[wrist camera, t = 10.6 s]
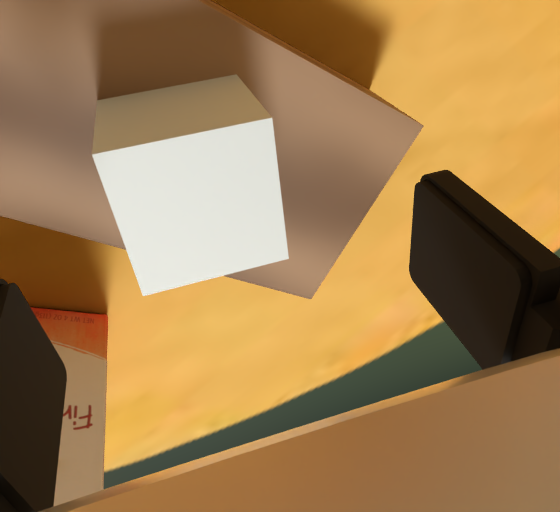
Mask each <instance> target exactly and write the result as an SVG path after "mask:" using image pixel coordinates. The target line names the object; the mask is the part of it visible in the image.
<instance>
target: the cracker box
mask: <svg viewBox="0 0 560 512" xmlns="http://www.w3.org/2000/svg"><path fill="white" fill-rule="evenodd" d="M30 308H31V309H32V311H33V313H34V314H35V316H36V318H37V319H38V321H39V323H40V324H41V326H42V328H43V329H44V331H45V333H46V334H47V336H48V338H49V339H50V341H51V343H52V344H53V346H54V348H55V349H56V351H57V353H58V354H59V356H60V358H61V359H62V361H63V363H64V365H65V368H66V372H67V383H66V393H65V402H64V411H63V421H62V430H61V440H60V449H59V459H58V468H57V477H56V487H55V496H54V506H57V505H60V504H63V503H65V502H68V501H71V500H74V499H77V498H80V497H83V496H86V495H89V494H92V493H95V492H98V491H101V490H103V475H104V446H105V418H106V385H107V338H108V316H107V315H106V314H90V313H81V312H72V311H62V310H53V309H43V308H33V307H30ZM54 506H53V507H54Z"/></svg>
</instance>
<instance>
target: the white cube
mask: <svg viewBox="0 0 560 512" xmlns="http://www.w3.org/2000/svg"><path fill="white" fill-rule="evenodd" d="M92 156H93V159H94V162H95V165H96V168H97V170H98V173H99V176H100V179H101V181H102V184H103V187H104V190H105V192H106V195H107V198H108V201H109V203H110V206H111V209H112V212H113V214H114V217H115V220H116V223H117V225H118V228H119V231H120V234H121V236H122V239H123V242H124V245H125V247H126V250H127V253H128V256H129V259H130V261H131V264H132V267H133V270H134V272H135V275H136V278H137V281H138V283H139V286H140V289H141V292H142V294H143V296H146V295H150V294H153V293H157V292H161V291H165V290H169V289H173V288H177V287H181V286H185V285H188V284H192V283H196V282H200V281H204V280H208V279H212V278H216V277H220V276H224V275H227V274H231V273H235V272H239V271H243V270H247V269H251V268H255V267H259V266H262V265H266V264H270V263H274V262H278V261H282V260H286V259H289V256H288V248H287V239H286V231H285V222H284V214H283V205H282V197H281V188H280V180H279V171H278V163H277V154H276V146H275V137H274V129H273V120H272V117H271V116H270V114H269V113H268V112H267V111H266V109H265V108H264V107H263V106H262V105H261V103H260V102H259V101H258V100H257V98H256V97H255V96H254V95H253V94H252V92H251V91H250V90H249V89H248V88H247V86H246V85H245V84H244V83H243V81H242V80H241V79H240V78H239V77H238V75H237V74H235V75H230V76H225V77H219V78H214V79H209V80H203V81H198V82H193V83H187V84H182V85H177V86H171V87H166V88H161V89H155V90H150V91H145V92H139V93H134V94H129V95H123V96H118V97H112V98H107V99H102V100H97V108H96V118H95V128H94V138H93V148H92Z"/></svg>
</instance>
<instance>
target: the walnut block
mask: <svg viewBox="0 0 560 512" xmlns="http://www.w3.org/2000/svg"><path fill="white" fill-rule="evenodd" d="M235 74H237V75H238V77H239V78H240V79H241V80H242V81H243V83H244V84H245V85H246V86H247V88H248V89H249V90H250V91H251V92H252V94H253V95H254V96H255V97H256V98H257V100H258V101H259V102H260V103H261V105H262V106H263V107H264V108H265V109H266V111H267V112H268V113H269V114H270V116H271V117H272V120H273V129H274V137H275V146H276V154H277V163H278V171H279V180H280V188H281V197H282V205H283V214H284V222H285V231H286V239H287V248H288V256H289V259H286V260H282V261H278V262H274V263H270V264H266V265H262V266H259V267H255V268H251V269H247V270H243V271H239V272H235V273H231V274H227V275H224V276H226V277H230V278H233V279H237V280H241V281H245V282H248V283H252V284H256V285H259V286H263V287H267V288H271V289H274V290H278V291H282V292H286V293H289V294H293V295H297V296H300V297H304V298H308V299H311V298H312V297H313V295H314V294H315V292H316V291H317V289H318V288H319V286H320V285H321V283H322V282H323V280H324V278H325V277H326V275H327V274H328V272H329V271H330V269H331V268H332V266H333V265H334V263H335V262H336V260H337V258H338V257H339V255H340V254H341V252H342V251H343V249H344V248H345V246H346V245H347V243H348V242H349V240H350V238H351V237H352V235H353V234H354V232H355V231H356V229H357V228H358V226H359V225H360V223H361V222H362V220H363V218H364V217H365V215H366V214H367V212H368V211H369V209H370V208H371V206H372V205H373V203H374V202H375V200H376V198H377V197H378V195H379V194H380V192H381V191H382V189H383V188H384V186H385V185H386V183H387V182H388V180H389V178H390V177H391V175H392V174H393V172H394V171H395V169H396V168H397V166H398V165H399V163H400V162H401V160H402V158H403V157H404V155H405V154H406V152H407V151H408V149H409V148H410V146H411V145H412V143H413V142H414V140H415V138H416V137H417V135H418V134H419V132H420V131H421V129H422V128H423V125H422V124H420V123H419V122H417V121H416V120H414V119H413V118H411V117H410V116H408V115H407V114H405V113H404V112H402V111H401V110H399V109H398V108H396V107H395V106H393V105H391V104H390V103H388V102H387V101H385V100H384V99H382V98H381V97H379V96H378V95H376V94H375V93H373V92H372V91H370V90H369V89H367V88H365V87H363V86H362V85H360V84H358V83H356V82H355V81H353V80H351V79H349V78H347V77H346V76H344V75H342V74H340V73H339V72H337V71H335V70H333V69H332V68H330V67H328V66H326V65H324V64H323V63H321V62H319V61H317V60H316V59H314V58H312V57H310V56H308V55H307V54H305V53H303V52H301V51H300V50H298V49H296V48H294V47H293V46H291V45H289V44H287V43H285V42H284V41H282V40H280V39H278V38H277V37H275V36H273V35H271V34H270V33H268V32H266V31H264V30H262V29H261V28H259V27H257V26H255V25H254V24H252V23H250V22H248V21H247V20H245V19H243V18H241V17H239V16H238V15H236V14H234V13H232V12H231V11H229V10H227V9H225V8H223V7H222V6H220V5H218V4H216V3H215V2H213V1H211V0H0V216H3V217H6V218H10V219H14V220H18V221H21V222H25V223H29V224H32V225H36V226H40V227H44V228H47V229H51V230H55V231H59V232H62V233H66V234H70V235H73V236H77V237H81V238H85V239H88V240H92V241H96V242H99V243H103V244H107V245H111V246H114V247H118V248H122V249H125V250H126V247H125V245H124V242H123V239H122V236H121V234H120V231H119V228H118V225H117V223H116V220H115V217H114V214H113V212H112V209H111V206H110V203H109V201H108V198H107V195H106V192H105V190H104V187H103V184H102V181H101V179H100V176H99V173H98V170H97V168H96V165H95V162H94V159H93V156H92V148H93V138H94V128H95V118H96V108H97V100H102V99H107V98H112V97H118V96H123V95H129V94H134V93H139V92H145V91H150V90H155V89H161V88H166V87H171V86H177V85H182V84H187V83H193V82H198V81H203V80H209V79H214V78H219V77H225V76H230V75H235Z"/></svg>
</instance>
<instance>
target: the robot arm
mask: <svg viewBox="0 0 560 512" xmlns="http://www.w3.org/2000/svg"><path fill="white" fill-rule="evenodd" d="M409 271H410V275H411V278H412V280H413V282H414V283H415V284H416V286H417V287H418V288H419V289H420V291H421V292H422V293H423V295H424V296H425V297H426V298H427V300H428V301H429V302H430V303H431V305H432V306H433V307H434V308H435V310H436V311H437V312H438V313H439V315H440V316H441V317H442V319H443V320H444V321H445V322H446V323H447V325H448V326H449V327H450V329H451V330H452V331H453V332H454V334H455V335H456V336H457V337H458V339H459V340H460V341H461V343H462V344H463V345H464V346H465V348H466V349H467V350H468V351H469V353H470V354H471V355H472V356H473V358H474V359H475V360H476V361H477V363H478V364H479V365H480V366H481V368H482V369H483V370H481V371H477V372H474V373H471V374H467V375H464V376H461V377H458V378H455V379H452V380H448V381H445V382H442V383H438V384H435V385H432V386H429V387H425V388H422V389H419V390H416V391H413V392H409V393H406V394H403V395H400V396H396V397H393V398H390V399H387V400H383V401H380V402H377V403H374V404H371V405H367V406H364V407H361V408H358V409H355V410H351V411H348V412H345V413H342V414H339V415H336V416H333V417H329V418H326V419H323V420H320V421H317V422H313V423H310V424H307V425H304V426H301V427H297V428H294V429H292V430H288V431H285V432H282V433H279V434H276V435H272V436H269V437H266V438H263V439H260V440H256V441H254V442H250V443H247V444H244V445H241V446H237V447H234V448H231V449H228V450H225V451H222V452H219V453H216V454H213V455H210V456H206V457H203V458H200V459H197V460H194V461H191V462H188V463H185V464H181V465H178V466H175V467H172V468H169V469H166V470H163V471H160V472H157V473H153V474H150V475H147V476H144V477H141V478H138V479H135V480H132V481H128V482H126V483H122V484H119V485H116V486H113V487H110V488H107V489H104V490H101V491H98V492H95V493H92V494H89V495H86V496H83V497H80V498H77V499H74V500H71V501H68V502H65V503H63V504H60V505H57V506H54V496H55V487H56V477H57V468H58V459H59V449H60V440H61V430H62V421H63V411H64V402H65V393H66V383H67V372H66V368H65V365H64V363H63V361H62V359H61V358H60V356H59V354H58V353H57V351H56V349H55V348H54V346H53V344H52V343H51V341H50V339H49V338H48V336H47V334H46V333H45V331H44V329H43V328H42V326H41V324H40V323H39V321H38V319H37V318H36V316H35V314H34V313H33V311H32V309H31V308H30V306H29V304H28V302H27V301H26V299H25V297H24V296H23V294H22V292H21V291H20V289H19V287H18V286H17V285H16V284H15V283H9V284H8V283H7V282H6V281H5V280H3V279H0V512H560V258H559V257H557V256H556V255H555V254H554V253H553V252H551V251H550V250H549V249H547V248H546V247H545V246H544V245H542V244H541V243H540V242H539V241H537V240H536V239H535V238H534V237H532V236H531V235H530V234H529V233H527V232H526V231H525V230H523V229H522V228H521V227H520V226H518V225H517V224H516V223H515V222H513V221H512V220H511V219H510V218H508V217H507V216H506V215H505V214H503V213H502V212H501V211H499V210H498V209H497V208H496V207H494V206H493V205H492V204H491V203H489V202H488V201H487V200H486V199H484V198H483V197H482V196H481V195H479V194H478V193H477V192H475V191H474V190H473V189H472V188H470V187H469V186H468V185H467V184H465V183H464V182H463V181H462V180H460V179H459V178H458V177H457V176H455V175H454V174H453V173H452V172H450V171H448V170H442V171H438V172H434V173H430V174H426V175H424V176H422V178H421V181H420V182H418V183H417V184H416V185H415V191H414V205H413V220H412V234H411V249H410V263H409ZM53 506H54V507H53Z"/></svg>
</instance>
